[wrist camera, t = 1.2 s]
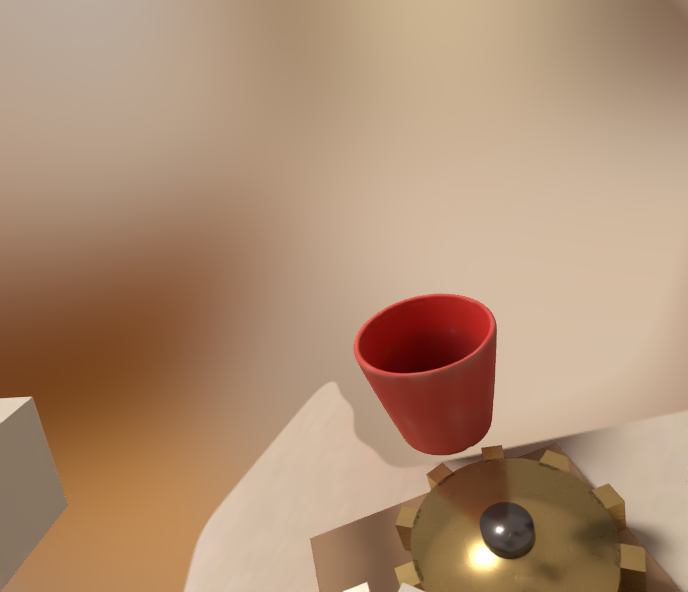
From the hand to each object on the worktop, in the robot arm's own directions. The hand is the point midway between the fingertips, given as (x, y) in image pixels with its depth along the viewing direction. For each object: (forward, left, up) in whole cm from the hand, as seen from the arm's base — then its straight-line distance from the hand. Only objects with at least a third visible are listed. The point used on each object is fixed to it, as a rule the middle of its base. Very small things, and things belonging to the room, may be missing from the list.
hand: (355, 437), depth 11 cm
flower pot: (-7, -25, -25) cm, 36 cm away
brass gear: (-6, -11, -24) cm, 27 cm away
